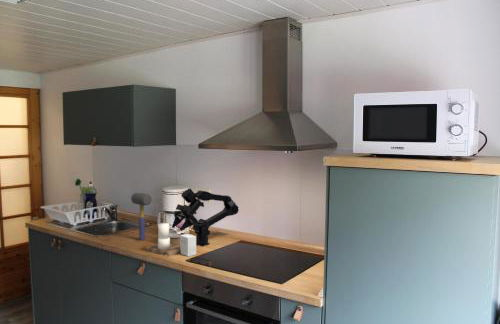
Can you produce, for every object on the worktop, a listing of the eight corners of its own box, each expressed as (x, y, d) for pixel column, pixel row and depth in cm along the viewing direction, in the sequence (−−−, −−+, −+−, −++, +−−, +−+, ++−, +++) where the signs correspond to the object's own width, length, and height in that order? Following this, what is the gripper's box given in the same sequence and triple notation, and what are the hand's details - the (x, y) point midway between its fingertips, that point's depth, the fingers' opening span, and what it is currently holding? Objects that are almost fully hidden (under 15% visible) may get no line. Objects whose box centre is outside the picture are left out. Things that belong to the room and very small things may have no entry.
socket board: (187, 249, 234) (187, 246, 234) (168, 256, 221) (168, 252, 221) (165, 245, 244) (165, 242, 244) (146, 251, 232) (146, 247, 231)
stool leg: (170, 249, 233) (169, 222, 232) (169, 253, 227) (169, 225, 226) (158, 250, 232) (157, 222, 231) (157, 253, 225) (157, 225, 224)
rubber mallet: (153, 240, 255) (152, 193, 253) (143, 243, 249) (143, 194, 247) (140, 237, 262) (139, 191, 261) (131, 240, 256) (130, 192, 254)
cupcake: (179, 231, 279) (178, 217, 278) (189, 233, 275) (189, 218, 274) (171, 234, 271) (170, 219, 270) (181, 235, 267) (181, 220, 266)
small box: (196, 254, 224) (196, 236, 224) (187, 256, 221) (187, 237, 220) (188, 251, 230) (188, 233, 230) (180, 253, 227) (179, 235, 226)
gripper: (176, 197, 243) (159, 217, 237) (193, 201, 229) (175, 222, 223) (187, 209, 249) (171, 229, 242) (204, 213, 235) (188, 235, 228)
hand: (176, 228), depth 234 cm, fingers open, 9 cm apart
